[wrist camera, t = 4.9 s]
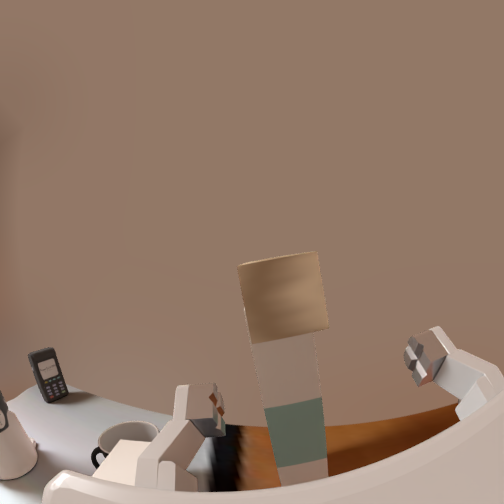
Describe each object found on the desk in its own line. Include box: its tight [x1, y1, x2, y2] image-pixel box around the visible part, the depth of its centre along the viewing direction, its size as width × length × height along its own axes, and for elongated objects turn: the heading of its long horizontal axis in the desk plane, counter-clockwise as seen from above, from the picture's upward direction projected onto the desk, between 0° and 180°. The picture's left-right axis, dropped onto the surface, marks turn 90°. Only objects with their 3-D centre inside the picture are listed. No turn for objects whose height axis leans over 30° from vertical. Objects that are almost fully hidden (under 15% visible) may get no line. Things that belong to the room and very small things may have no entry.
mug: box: [91, 421, 159, 469], centre depth 25 cm, size 12×9×10 cm
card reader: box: [28, 347, 68, 402], centre depth 53 cm, size 9×4×15 cm, turn 161°
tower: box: [244, 307, 328, 487], centre depth 25 cm, size 5×10×26 cm, turn 179°
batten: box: [237, 251, 329, 344], centre depth 22 cm, size 4×22×4 cm, turn 179°
